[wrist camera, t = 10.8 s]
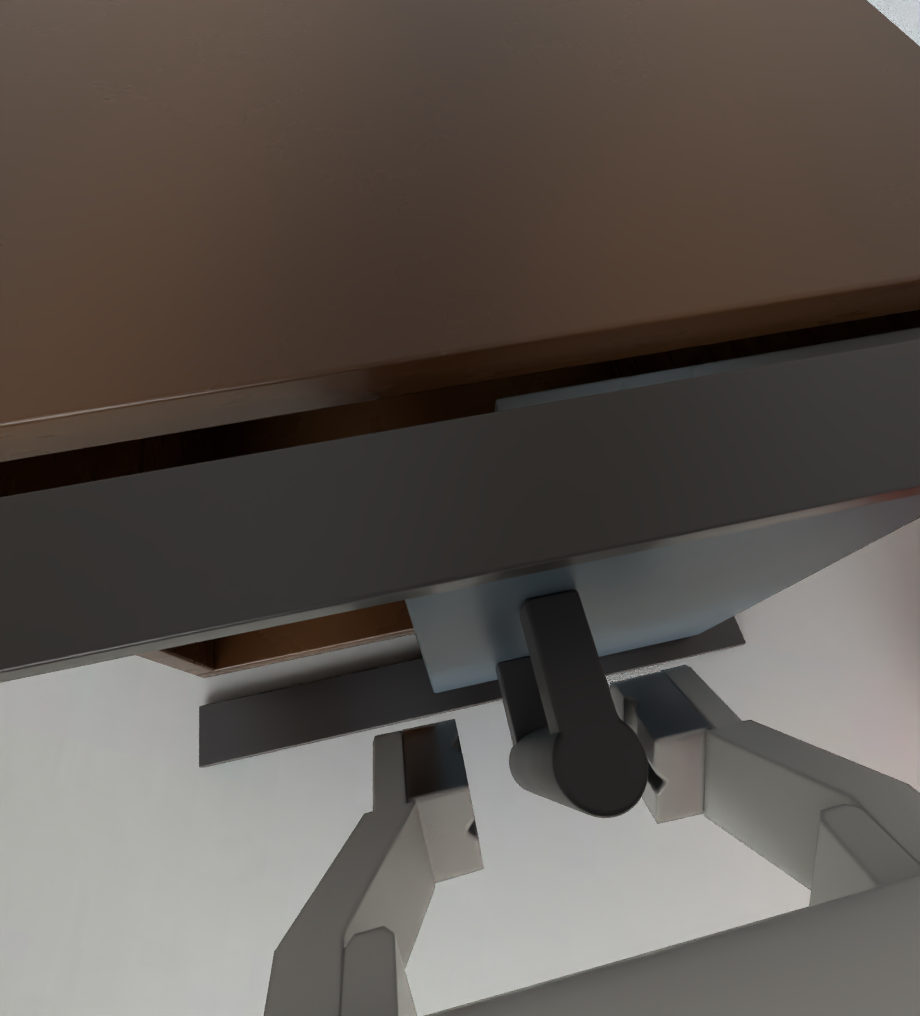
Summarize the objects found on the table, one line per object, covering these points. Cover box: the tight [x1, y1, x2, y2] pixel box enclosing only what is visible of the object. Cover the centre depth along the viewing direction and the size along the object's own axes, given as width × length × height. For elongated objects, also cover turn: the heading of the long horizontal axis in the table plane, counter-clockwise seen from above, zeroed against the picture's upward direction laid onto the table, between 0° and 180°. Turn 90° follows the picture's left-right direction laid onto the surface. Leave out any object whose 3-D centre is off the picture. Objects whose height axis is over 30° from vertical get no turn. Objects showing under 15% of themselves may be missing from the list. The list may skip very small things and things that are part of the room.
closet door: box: [405, 494, 920, 818], centre depth 10 cm, size 8×3×11 cm, turn 102°
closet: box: [0, 0, 920, 768], centre depth 12 cm, size 16×12×12 cm
